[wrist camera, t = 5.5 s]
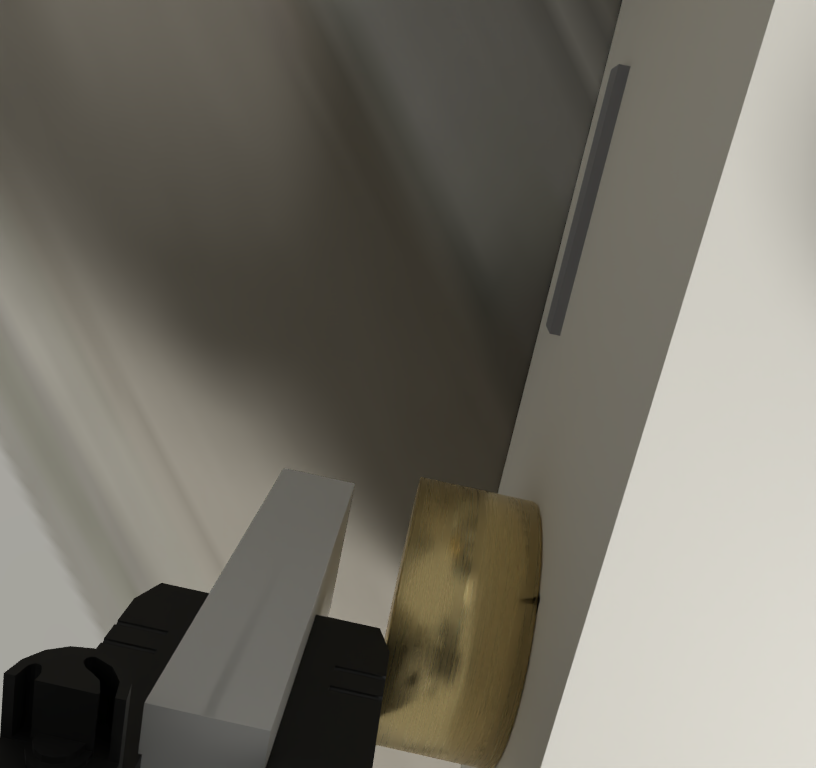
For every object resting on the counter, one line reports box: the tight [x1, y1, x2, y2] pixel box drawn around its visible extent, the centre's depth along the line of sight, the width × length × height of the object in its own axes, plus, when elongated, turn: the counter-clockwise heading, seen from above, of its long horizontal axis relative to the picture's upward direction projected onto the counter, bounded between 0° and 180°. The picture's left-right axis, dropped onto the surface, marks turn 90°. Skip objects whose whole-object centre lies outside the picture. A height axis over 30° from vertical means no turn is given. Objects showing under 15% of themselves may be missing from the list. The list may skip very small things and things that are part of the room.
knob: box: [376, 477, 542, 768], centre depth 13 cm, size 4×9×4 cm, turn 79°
